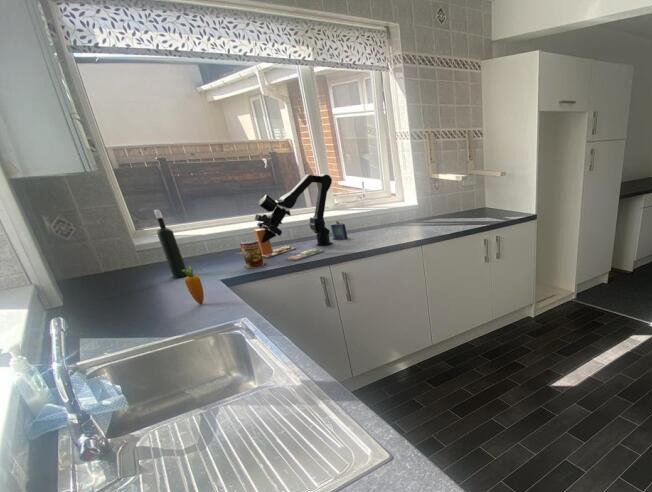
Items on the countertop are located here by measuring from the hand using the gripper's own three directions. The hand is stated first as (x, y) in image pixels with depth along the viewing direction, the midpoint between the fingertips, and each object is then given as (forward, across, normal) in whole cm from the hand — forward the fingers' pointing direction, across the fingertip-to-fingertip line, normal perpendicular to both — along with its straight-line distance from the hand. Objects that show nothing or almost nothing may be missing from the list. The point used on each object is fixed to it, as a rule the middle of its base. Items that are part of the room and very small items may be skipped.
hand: (260, 241), depth 222 cm
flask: (-28, -6, +39) cm, 48 cm away
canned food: (+13, +15, -1) cm, 20 cm away
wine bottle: (+34, +6, -22) cm, 41 cm away
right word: (-5, +16, +16) cm, 23 cm away
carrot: (+36, +57, -25) cm, 72 cm away
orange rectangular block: (+4, 0, +6) cm, 7 cm away
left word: (0, -3, +11) cm, 11 cm away
